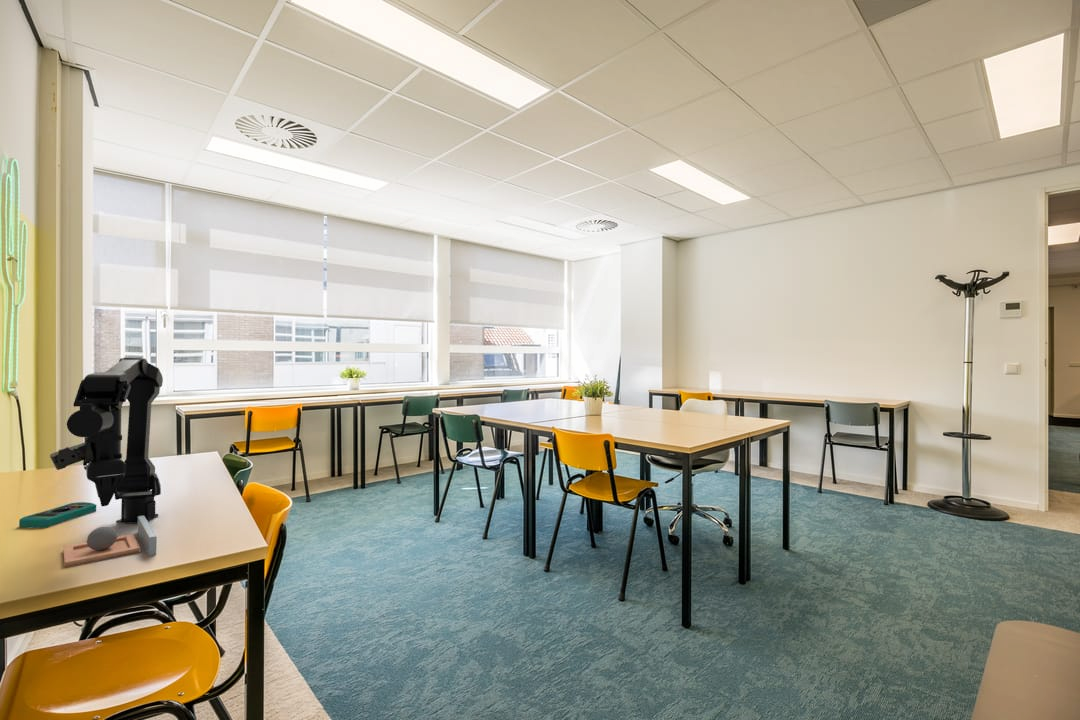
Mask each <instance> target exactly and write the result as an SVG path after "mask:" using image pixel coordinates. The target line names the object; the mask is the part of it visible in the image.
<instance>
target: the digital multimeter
mask: <svg viewBox="0 0 1080 720" xmlns="http://www.w3.org/2000/svg"><path fill="white" fill-rule="evenodd" d="M95 512H97V504H96V503H93V502H86V501H83V502H82V501H79V502H70V503H67V504H64V505H60V506H58V507H54V508H50V509H48V510H44V511H39V512H38V513H33V514H30V515H26V516H23V517H21V518H20V519H19V521H18V523H19V525H18V526H19V528H29V527H32V528H35V529H37V528H39V529H41V528H44V527H45V528H49V527H52V526H55V525H58V524H62V523H64V522H66V521H70V520H73V519H77V518H78V517H82V516H86V515H89V514H92V513H95Z"/></svg>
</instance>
